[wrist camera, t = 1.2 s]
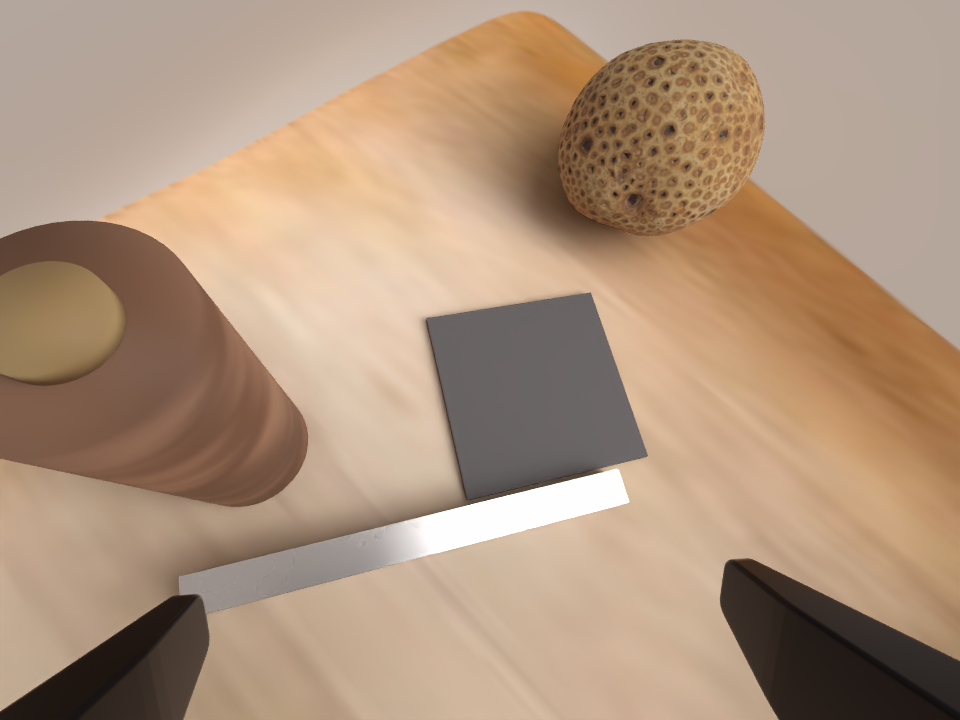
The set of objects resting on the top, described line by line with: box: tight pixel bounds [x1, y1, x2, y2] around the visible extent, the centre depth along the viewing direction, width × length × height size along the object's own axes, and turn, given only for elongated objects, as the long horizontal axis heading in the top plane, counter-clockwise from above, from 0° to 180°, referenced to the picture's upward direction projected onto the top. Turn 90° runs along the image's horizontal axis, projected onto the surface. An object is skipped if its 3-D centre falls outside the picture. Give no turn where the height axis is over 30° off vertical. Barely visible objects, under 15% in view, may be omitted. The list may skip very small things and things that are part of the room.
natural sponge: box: [558, 40, 765, 236], centre depth 24 cm, size 9×9×10 cm
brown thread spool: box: [0, 221, 308, 507], centre depth 15 cm, size 5×5×13 cm
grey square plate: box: [427, 293, 648, 500], centre depth 24 cm, size 9×9×1 cm
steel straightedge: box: [179, 469, 629, 614], centre depth 20 cm, size 18×2×2 cm, turn 104°
